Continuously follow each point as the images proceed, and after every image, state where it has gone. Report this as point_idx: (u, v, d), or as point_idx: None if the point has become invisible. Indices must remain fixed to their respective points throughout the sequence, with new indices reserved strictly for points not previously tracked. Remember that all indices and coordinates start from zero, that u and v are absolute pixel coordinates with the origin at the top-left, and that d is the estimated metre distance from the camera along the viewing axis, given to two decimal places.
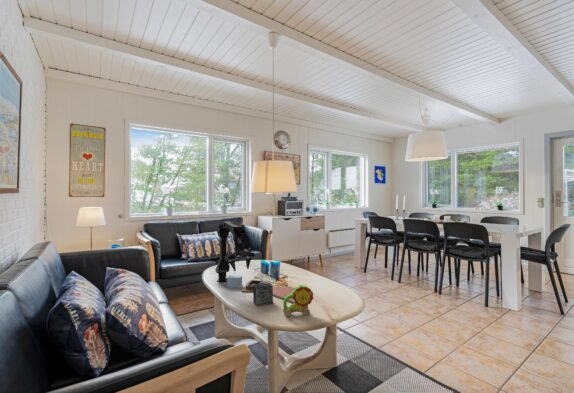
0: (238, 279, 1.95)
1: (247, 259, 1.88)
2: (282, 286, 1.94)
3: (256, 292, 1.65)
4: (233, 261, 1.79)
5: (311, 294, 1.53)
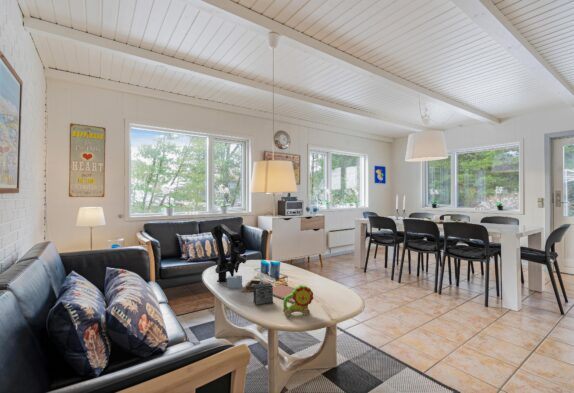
0: (238, 279, 1.95)
1: (236, 263, 2.03)
2: (282, 286, 1.94)
3: (256, 292, 1.65)
4: (235, 268, 1.91)
5: (311, 294, 1.53)
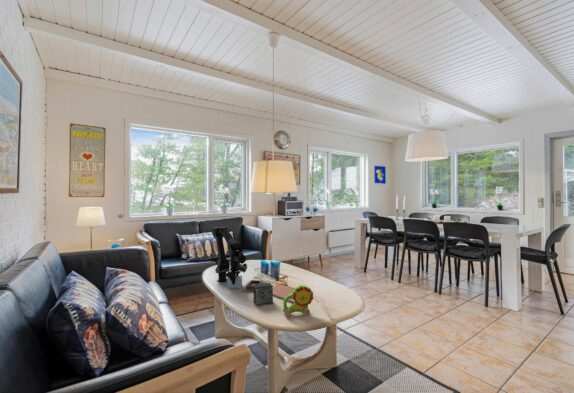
0: (238, 279, 1.95)
1: None
2: (282, 286, 1.94)
3: (256, 292, 1.65)
4: None
5: (311, 294, 1.53)
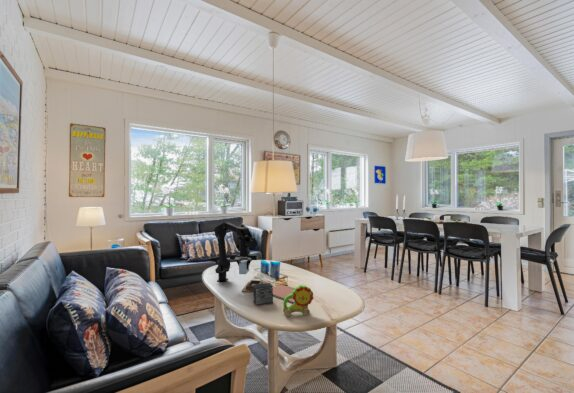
0: None
1: (240, 260, 1.97)
2: (282, 286, 1.94)
3: (256, 292, 1.65)
4: None
5: (311, 294, 1.53)
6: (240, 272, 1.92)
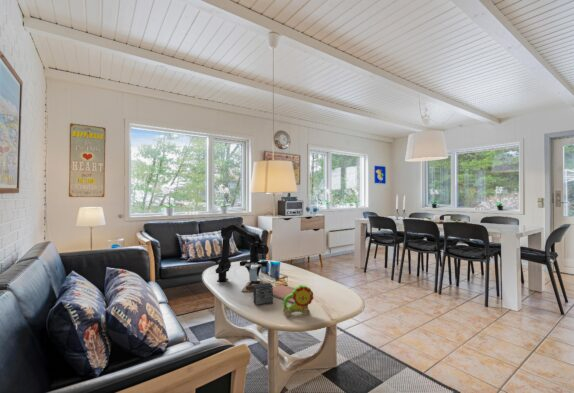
0: None
1: (250, 266, 1.95)
2: (282, 286, 1.94)
3: (256, 292, 1.65)
4: None
5: (311, 294, 1.53)
6: (250, 279, 1.91)
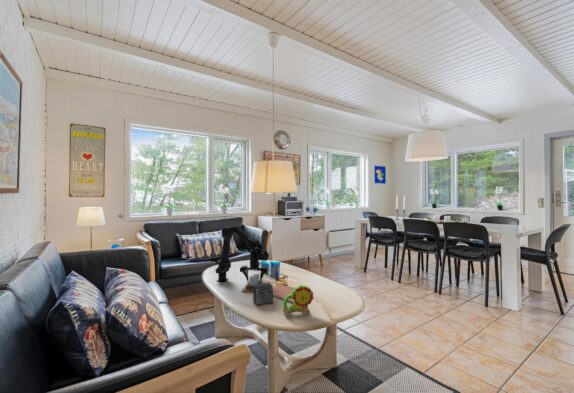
0: (258, 276, 1.98)
1: (247, 272, 1.96)
2: (282, 286, 1.94)
3: (256, 292, 1.65)
4: None
5: (311, 294, 1.53)
6: None
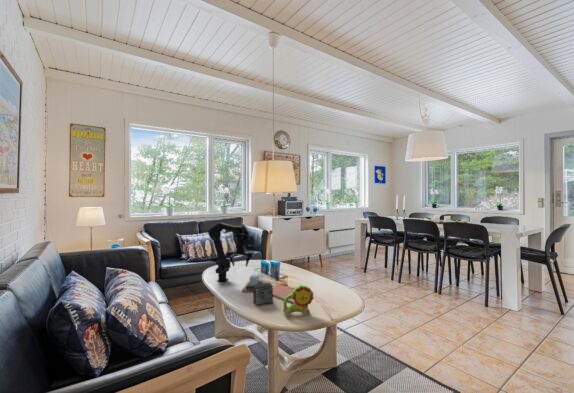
0: (258, 276, 1.98)
1: (233, 257, 2.03)
2: (282, 286, 1.93)
3: (256, 292, 1.65)
4: None
5: (311, 294, 1.53)
6: None
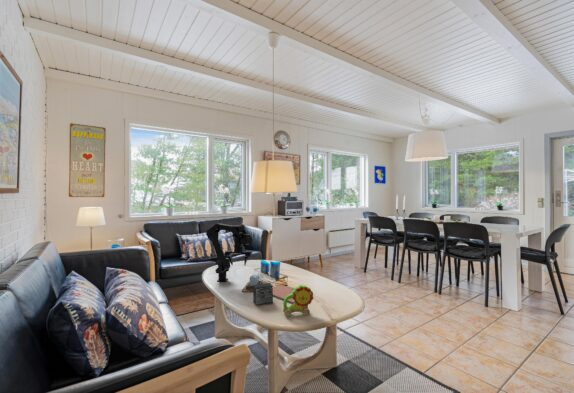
0: (258, 276, 1.98)
1: (231, 256, 2.04)
2: (282, 286, 1.93)
3: (256, 292, 1.65)
4: None
5: (311, 294, 1.53)
6: None
